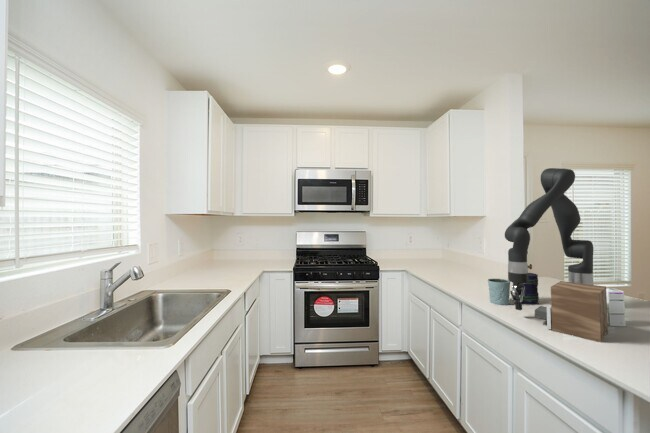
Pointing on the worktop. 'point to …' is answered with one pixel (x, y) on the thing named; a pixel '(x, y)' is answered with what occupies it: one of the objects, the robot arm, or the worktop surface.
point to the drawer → (544, 315)
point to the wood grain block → (579, 310)
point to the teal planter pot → (499, 291)
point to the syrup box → (615, 307)
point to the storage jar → (531, 290)
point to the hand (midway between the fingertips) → (518, 309)
